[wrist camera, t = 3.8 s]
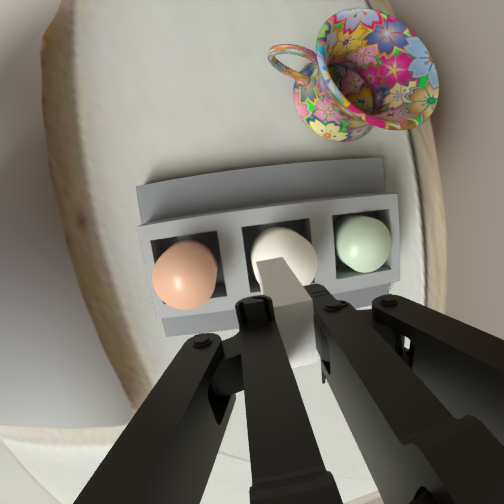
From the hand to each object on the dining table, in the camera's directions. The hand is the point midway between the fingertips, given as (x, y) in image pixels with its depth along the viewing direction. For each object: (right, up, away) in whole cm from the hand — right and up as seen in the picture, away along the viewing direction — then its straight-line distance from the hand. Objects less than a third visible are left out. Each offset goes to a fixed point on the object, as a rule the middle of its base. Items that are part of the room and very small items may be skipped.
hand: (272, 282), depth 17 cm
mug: (+5, +16, +9) cm, 19 cm away
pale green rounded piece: (+8, +3, +9) cm, 12 cm away
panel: (+1, +2, +11) cm, 11 cm away
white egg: (+1, +2, +7) cm, 7 cm away
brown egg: (-6, +1, +7) cm, 9 cm away
